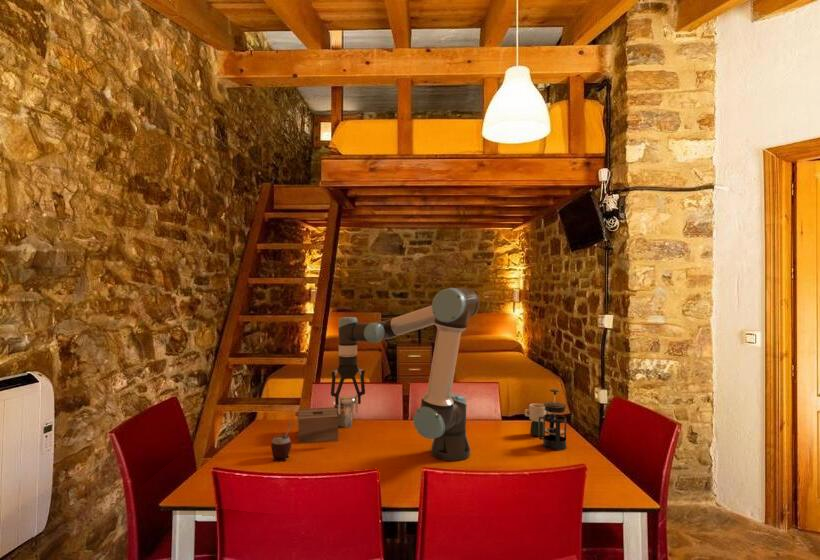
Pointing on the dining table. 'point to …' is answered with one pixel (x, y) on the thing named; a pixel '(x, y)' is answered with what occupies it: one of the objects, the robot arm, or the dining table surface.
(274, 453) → the mate gourd
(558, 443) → the french press
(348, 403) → the steel pin
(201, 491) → the dining table surface
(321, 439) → the hitch block
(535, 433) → the character mug
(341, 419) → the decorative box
